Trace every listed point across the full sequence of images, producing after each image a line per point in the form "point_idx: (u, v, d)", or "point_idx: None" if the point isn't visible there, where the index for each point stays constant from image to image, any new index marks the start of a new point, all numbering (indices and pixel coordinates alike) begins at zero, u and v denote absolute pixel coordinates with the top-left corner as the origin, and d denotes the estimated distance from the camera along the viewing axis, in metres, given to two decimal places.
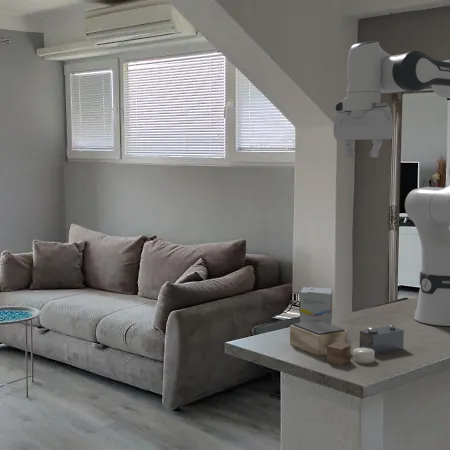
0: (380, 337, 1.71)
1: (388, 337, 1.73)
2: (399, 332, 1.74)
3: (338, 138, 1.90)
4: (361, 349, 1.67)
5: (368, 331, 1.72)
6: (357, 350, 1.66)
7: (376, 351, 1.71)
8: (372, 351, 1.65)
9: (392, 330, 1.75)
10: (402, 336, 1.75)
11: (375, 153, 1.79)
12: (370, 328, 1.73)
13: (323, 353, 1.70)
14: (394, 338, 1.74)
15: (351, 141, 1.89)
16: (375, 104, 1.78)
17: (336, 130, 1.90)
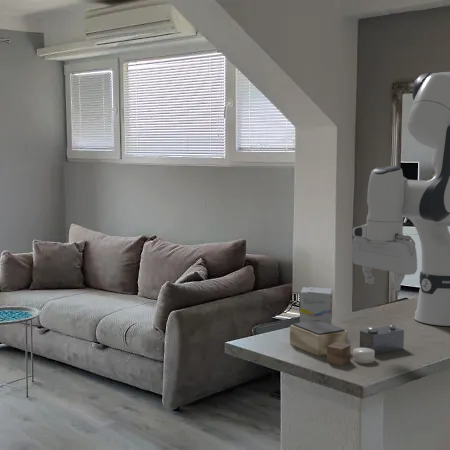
0: (380, 337, 1.71)
1: (388, 337, 1.73)
2: (399, 332, 1.74)
3: (356, 263, 1.79)
4: (361, 349, 1.67)
5: (368, 331, 1.72)
6: (357, 350, 1.66)
7: (376, 351, 1.71)
8: (372, 351, 1.65)
9: (392, 330, 1.75)
10: (402, 336, 1.75)
11: (397, 287, 1.68)
12: (370, 328, 1.73)
13: (323, 353, 1.70)
14: (394, 338, 1.74)
15: (370, 267, 1.78)
16: (397, 235, 1.67)
17: (354, 254, 1.79)
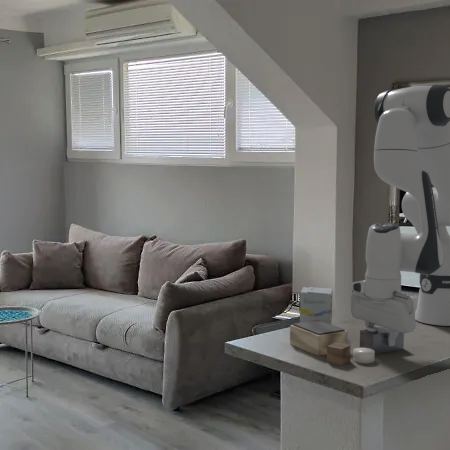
0: (380, 337, 1.71)
1: (388, 337, 1.73)
2: (399, 332, 1.74)
3: (356, 317, 1.81)
4: (361, 349, 1.67)
5: (368, 331, 1.73)
6: (357, 350, 1.66)
7: (376, 351, 1.71)
8: (372, 351, 1.65)
9: None
10: (402, 336, 1.75)
11: (391, 342, 1.71)
12: (370, 328, 1.73)
13: (323, 353, 1.70)
14: None
15: None
16: (396, 293, 1.69)
17: (353, 308, 1.81)
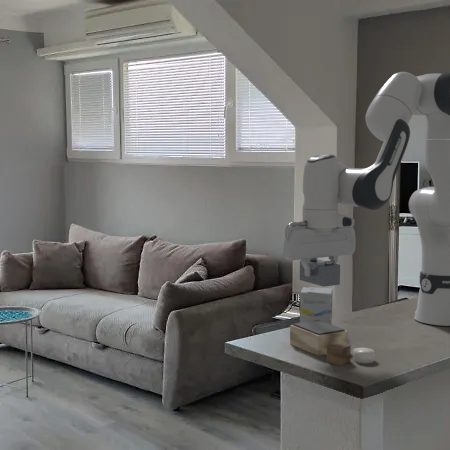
0: None
1: (311, 268, 1.73)
2: (320, 267, 1.70)
3: None
4: (361, 349, 1.67)
5: None
6: (357, 350, 1.66)
7: (302, 277, 1.77)
8: (372, 351, 1.65)
9: (320, 264, 1.72)
10: (322, 272, 1.69)
11: (306, 272, 1.73)
12: None
13: (323, 353, 1.70)
14: (316, 271, 1.72)
15: (332, 257, 1.76)
16: None
17: None
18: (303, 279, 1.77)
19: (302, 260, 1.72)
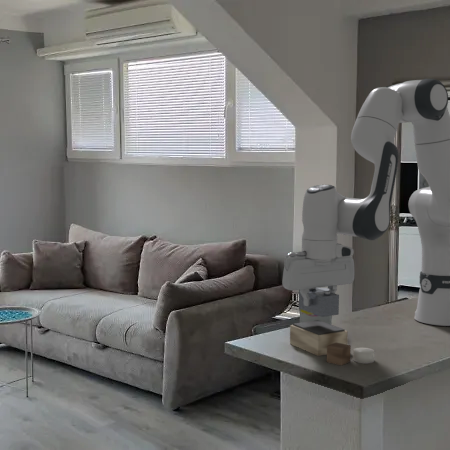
0: None
1: (310, 297, 1.74)
2: (319, 297, 1.71)
3: None
4: (361, 349, 1.67)
5: None
6: (357, 350, 1.66)
7: (301, 306, 1.78)
8: (372, 351, 1.65)
9: (319, 294, 1.73)
10: (321, 302, 1.70)
11: (305, 301, 1.74)
12: None
13: (323, 353, 1.70)
14: (315, 301, 1.72)
15: (331, 287, 1.76)
16: None
17: None
18: (302, 308, 1.77)
19: (301, 290, 1.73)
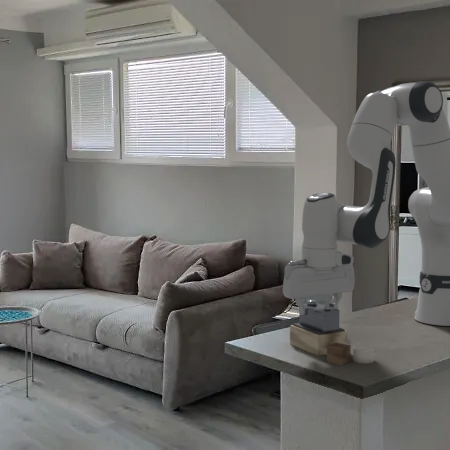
0: None
1: (310, 312, 1.75)
2: (319, 312, 1.71)
3: None
4: (361, 349, 1.67)
5: None
6: (357, 350, 1.66)
7: (301, 321, 1.78)
8: (372, 351, 1.65)
9: (320, 309, 1.73)
10: (321, 318, 1.71)
11: (300, 310, 1.73)
12: (310, 300, 1.79)
13: (323, 353, 1.70)
14: (315, 316, 1.73)
15: (336, 294, 1.77)
16: None
17: None
18: (303, 323, 1.78)
19: (296, 299, 1.72)
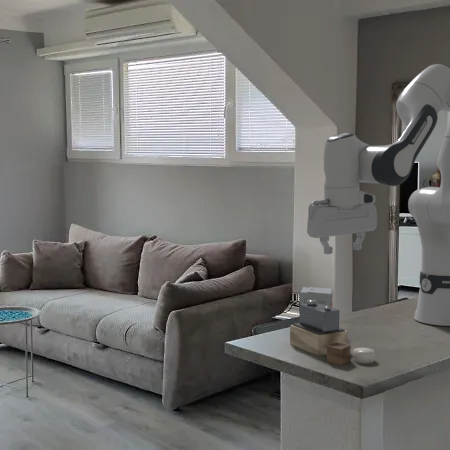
0: (304, 309, 1.77)
1: (310, 312, 1.75)
2: (319, 312, 1.71)
3: None
4: (361, 349, 1.67)
5: None
6: (357, 350, 1.66)
7: (301, 321, 1.78)
8: (372, 351, 1.65)
9: (320, 309, 1.73)
10: (321, 318, 1.71)
11: (325, 250, 1.76)
12: (310, 300, 1.79)
13: (323, 353, 1.70)
14: (315, 316, 1.73)
15: (359, 233, 1.80)
16: None
17: None
18: (303, 323, 1.78)
19: (321, 238, 1.75)
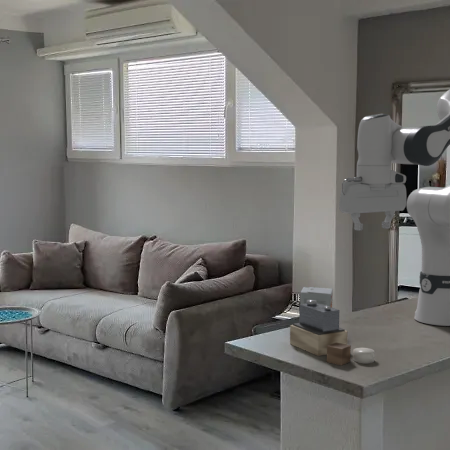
0: (304, 309, 1.77)
1: (310, 312, 1.75)
2: (319, 312, 1.71)
3: None
4: (361, 349, 1.67)
5: None
6: (357, 350, 1.66)
7: (301, 321, 1.78)
8: (372, 351, 1.65)
9: (320, 309, 1.73)
10: (321, 318, 1.71)
11: (355, 226, 1.81)
12: (310, 300, 1.79)
13: (323, 353, 1.70)
14: (315, 316, 1.73)
15: (389, 212, 1.85)
16: None
17: None
18: (303, 323, 1.78)
19: (352, 215, 1.80)
